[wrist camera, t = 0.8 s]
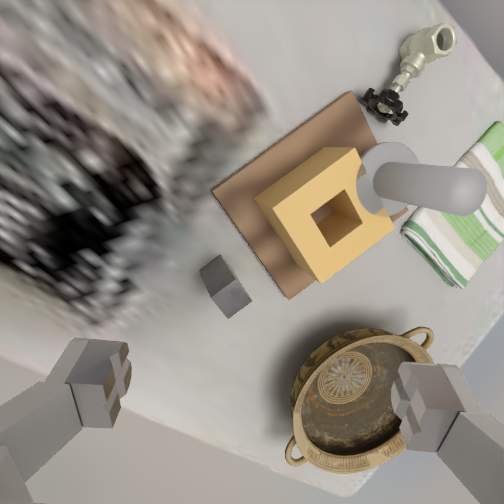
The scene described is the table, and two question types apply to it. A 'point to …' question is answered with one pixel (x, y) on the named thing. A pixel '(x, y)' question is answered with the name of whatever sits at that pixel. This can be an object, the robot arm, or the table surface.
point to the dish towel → (465, 218)
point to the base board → (280, 164)
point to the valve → (411, 69)
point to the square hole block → (360, 201)
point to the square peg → (224, 287)
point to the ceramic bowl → (351, 400)
